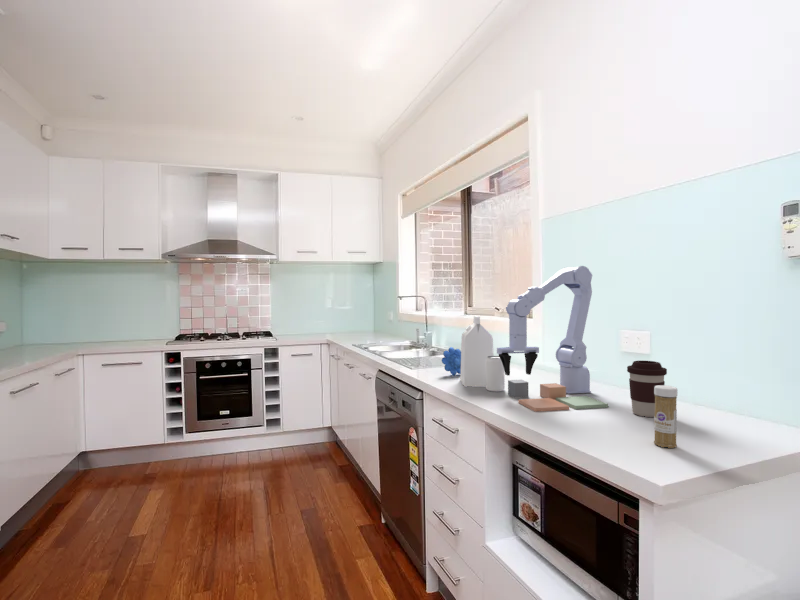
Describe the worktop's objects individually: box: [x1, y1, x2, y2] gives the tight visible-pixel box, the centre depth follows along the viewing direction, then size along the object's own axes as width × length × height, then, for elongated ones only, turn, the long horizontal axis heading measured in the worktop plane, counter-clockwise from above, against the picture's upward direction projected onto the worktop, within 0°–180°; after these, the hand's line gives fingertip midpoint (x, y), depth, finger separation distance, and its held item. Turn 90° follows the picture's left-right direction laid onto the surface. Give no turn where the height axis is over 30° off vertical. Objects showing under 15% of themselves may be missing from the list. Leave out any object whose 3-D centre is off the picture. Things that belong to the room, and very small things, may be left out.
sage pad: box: [556, 395, 609, 410], centre depth 142 cm, size 11×11×1 cm
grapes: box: [441, 346, 461, 376], centre depth 193 cm, size 12×7×12 cm, turn 113°
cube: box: [507, 379, 529, 398], centre depth 154 cm, size 5×5×5 cm
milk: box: [459, 315, 495, 388], centre depth 175 cm, size 12×12×26 cm
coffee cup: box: [626, 360, 668, 418], centre depth 130 cm, size 10×10×15 cm
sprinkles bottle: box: [653, 384, 678, 449], centre depth 103 cm, size 5×5×14 cm
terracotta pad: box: [517, 397, 570, 413], centre depth 140 cm, size 11×11×1 cm
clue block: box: [539, 382, 567, 400], centre depth 151 cm, size 6×6×4 cm
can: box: [485, 355, 506, 393], centre depth 163 cm, size 6×6×12 cm
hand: (517, 374), depth 154 cm, fingers open, 7 cm apart
